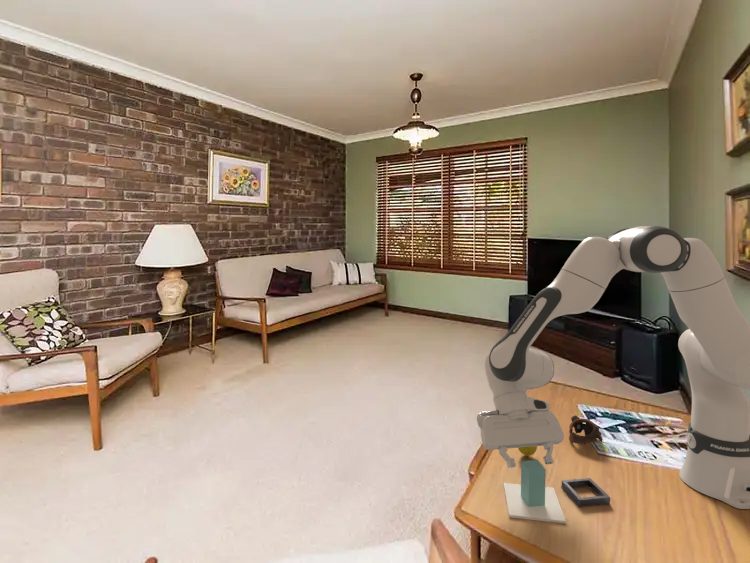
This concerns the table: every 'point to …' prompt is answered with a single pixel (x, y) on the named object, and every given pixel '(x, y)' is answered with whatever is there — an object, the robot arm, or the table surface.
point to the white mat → (540, 513)
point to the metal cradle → (585, 501)
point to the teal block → (533, 483)
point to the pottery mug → (589, 429)
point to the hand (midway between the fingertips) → (531, 465)
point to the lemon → (528, 450)
